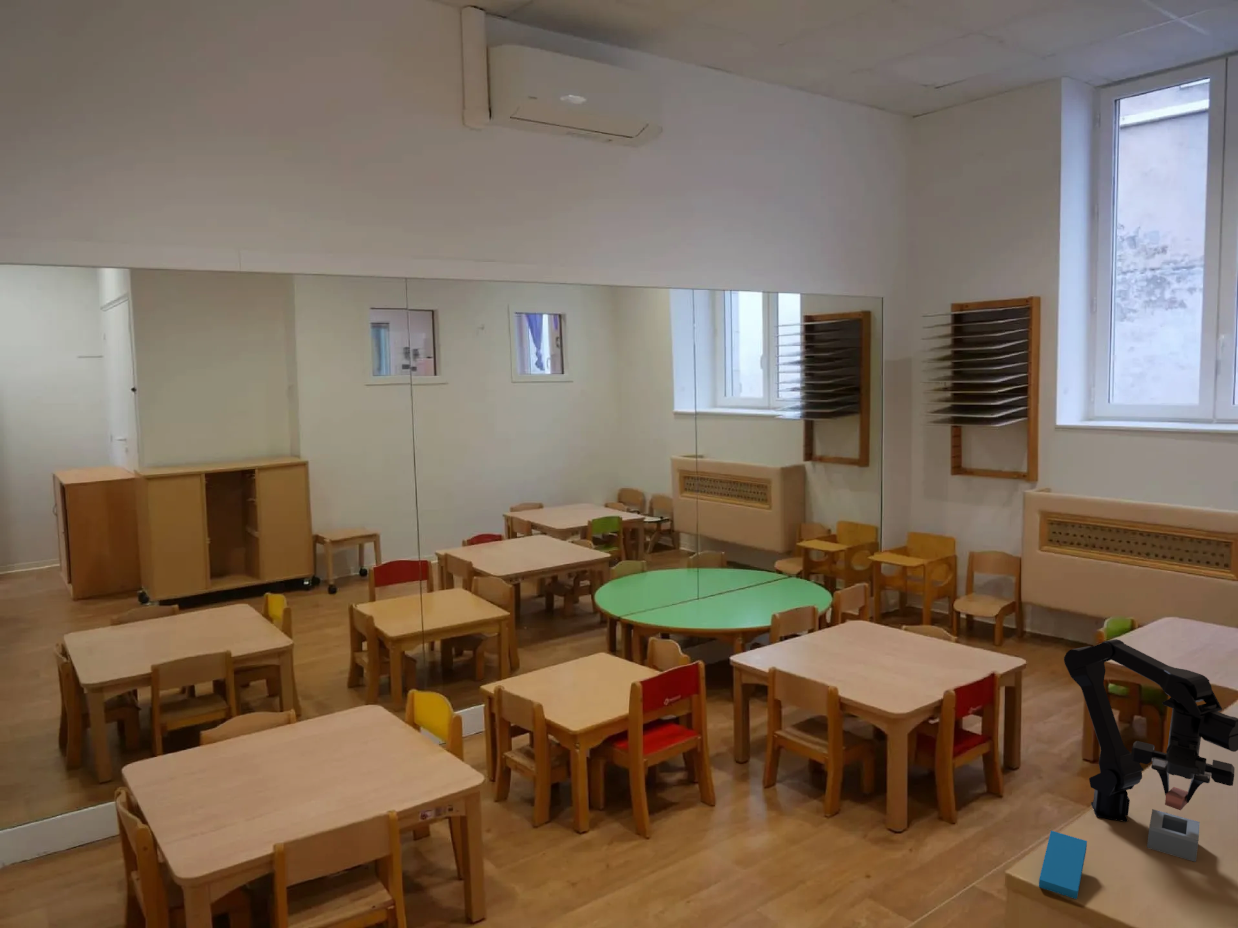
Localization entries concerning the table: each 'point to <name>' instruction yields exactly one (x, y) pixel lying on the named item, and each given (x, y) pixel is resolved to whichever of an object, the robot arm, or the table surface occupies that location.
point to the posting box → (1173, 835)
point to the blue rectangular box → (1063, 864)
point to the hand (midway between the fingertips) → (1177, 799)
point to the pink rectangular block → (1176, 798)
